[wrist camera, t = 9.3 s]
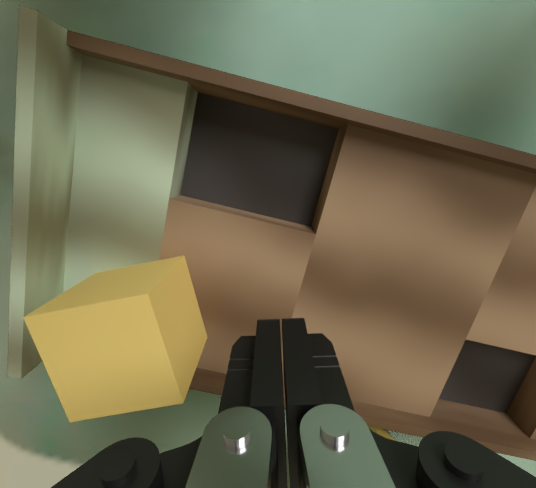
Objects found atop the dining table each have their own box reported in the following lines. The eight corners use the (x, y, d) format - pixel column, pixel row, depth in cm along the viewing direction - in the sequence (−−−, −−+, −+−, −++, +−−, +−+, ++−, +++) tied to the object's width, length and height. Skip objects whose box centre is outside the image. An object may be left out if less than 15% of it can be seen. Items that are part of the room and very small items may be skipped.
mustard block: (95, 272, 15) (22, 317, 10) (184, 255, 15) (147, 293, 10) (124, 352, 16) (69, 422, 12) (207, 337, 16) (183, 403, 11)
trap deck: (95, 54, 14) (18, 5, 10) (636, 197, 16) (776, 209, 11) (71, 324, 18) (7, 376, 13) (514, 420, 19) (586, 494, 15)
